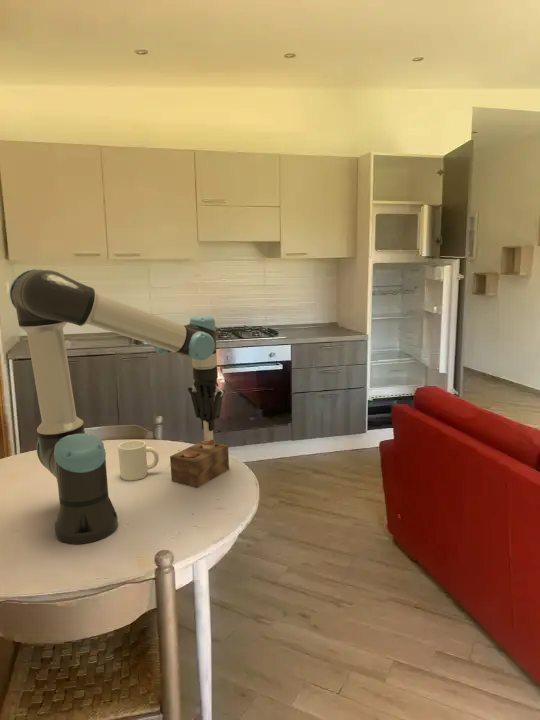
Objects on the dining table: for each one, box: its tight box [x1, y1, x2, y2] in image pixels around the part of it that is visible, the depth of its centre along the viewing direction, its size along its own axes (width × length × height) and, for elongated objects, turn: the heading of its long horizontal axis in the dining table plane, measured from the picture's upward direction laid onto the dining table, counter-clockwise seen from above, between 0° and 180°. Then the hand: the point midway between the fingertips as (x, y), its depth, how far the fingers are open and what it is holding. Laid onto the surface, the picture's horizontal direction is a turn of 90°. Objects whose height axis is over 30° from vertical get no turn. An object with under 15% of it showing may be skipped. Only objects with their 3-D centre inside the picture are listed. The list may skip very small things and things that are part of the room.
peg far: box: [201, 438, 216, 450], centre depth 174 cm, size 4×4×8 cm
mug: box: [117, 439, 160, 482], centre depth 172 cm, size 12×8×10 cm
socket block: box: [169, 440, 230, 489], centre depth 171 cm, size 16×10×8 cm, turn 149°
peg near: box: [184, 452, 197, 459], centre depth 167 cm, size 4×4×8 cm
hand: (208, 439), depth 174 cm, fingers closed
